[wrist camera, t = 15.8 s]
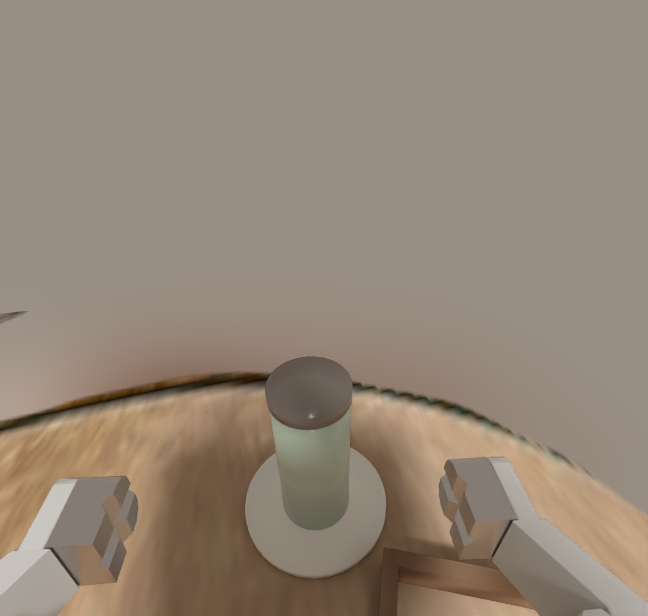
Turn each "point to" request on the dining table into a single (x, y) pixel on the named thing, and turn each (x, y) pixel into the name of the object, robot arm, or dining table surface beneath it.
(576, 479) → the dining table surface
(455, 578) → the walnut box
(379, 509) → the coaster
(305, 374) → the sage jar
